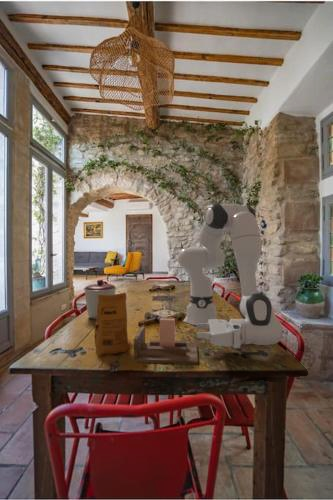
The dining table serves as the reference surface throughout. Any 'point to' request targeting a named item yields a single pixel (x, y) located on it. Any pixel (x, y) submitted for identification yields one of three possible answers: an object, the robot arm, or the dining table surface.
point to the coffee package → (111, 324)
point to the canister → (96, 296)
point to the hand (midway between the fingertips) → (196, 330)
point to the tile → (167, 332)
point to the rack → (163, 351)
